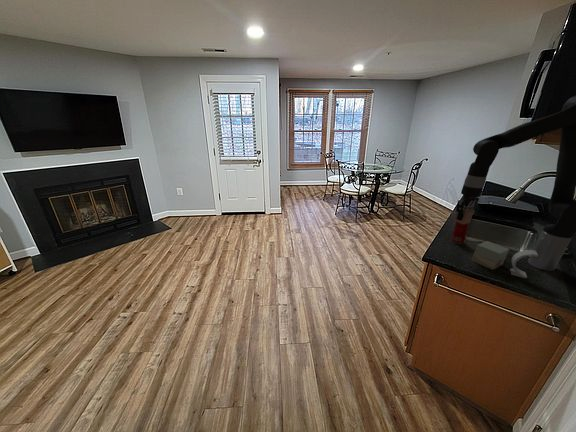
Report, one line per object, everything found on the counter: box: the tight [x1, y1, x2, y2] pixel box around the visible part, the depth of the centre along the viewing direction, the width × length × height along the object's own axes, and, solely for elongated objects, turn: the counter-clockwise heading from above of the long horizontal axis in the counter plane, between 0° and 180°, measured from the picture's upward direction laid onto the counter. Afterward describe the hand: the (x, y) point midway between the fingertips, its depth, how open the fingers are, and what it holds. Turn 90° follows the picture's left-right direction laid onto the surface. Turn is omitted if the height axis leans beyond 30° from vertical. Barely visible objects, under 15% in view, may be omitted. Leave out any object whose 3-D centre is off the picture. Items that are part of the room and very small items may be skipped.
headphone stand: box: [509, 249, 538, 279], centre depth 104 cm, size 5×6×12 cm
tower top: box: [474, 240, 510, 262], centre depth 111 cm, size 9×9×4 cm
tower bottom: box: [470, 251, 506, 270], centre depth 113 cm, size 9×9×4 cm
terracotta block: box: [452, 209, 475, 224], centre depth 114 cm, size 5×5×6 cm
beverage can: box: [451, 221, 470, 245], centre depth 131 cm, size 6×6×15 cm
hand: (462, 218), depth 114 cm, fingers closed on terracotta block, 5 cm apart
